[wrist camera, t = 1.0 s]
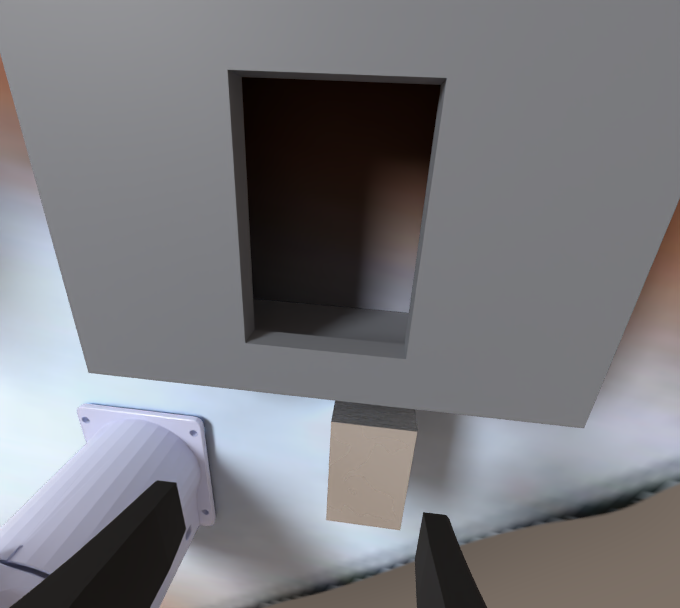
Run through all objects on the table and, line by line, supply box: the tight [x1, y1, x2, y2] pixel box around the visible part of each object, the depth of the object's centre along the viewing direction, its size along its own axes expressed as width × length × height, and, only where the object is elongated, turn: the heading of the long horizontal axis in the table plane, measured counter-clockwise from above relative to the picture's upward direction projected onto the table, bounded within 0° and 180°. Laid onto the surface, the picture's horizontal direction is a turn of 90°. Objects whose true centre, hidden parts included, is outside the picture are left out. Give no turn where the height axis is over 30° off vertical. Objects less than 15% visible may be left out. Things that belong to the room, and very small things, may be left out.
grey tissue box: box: [0, 0, 680, 428], centre depth 13 cm, size 12×18×6 cm, turn 87°
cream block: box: [326, 400, 417, 530], centre depth 18 cm, size 6×4×5 cm, turn 177°
